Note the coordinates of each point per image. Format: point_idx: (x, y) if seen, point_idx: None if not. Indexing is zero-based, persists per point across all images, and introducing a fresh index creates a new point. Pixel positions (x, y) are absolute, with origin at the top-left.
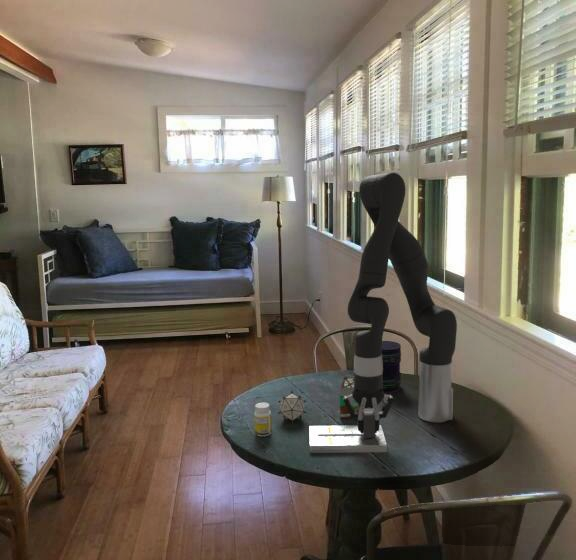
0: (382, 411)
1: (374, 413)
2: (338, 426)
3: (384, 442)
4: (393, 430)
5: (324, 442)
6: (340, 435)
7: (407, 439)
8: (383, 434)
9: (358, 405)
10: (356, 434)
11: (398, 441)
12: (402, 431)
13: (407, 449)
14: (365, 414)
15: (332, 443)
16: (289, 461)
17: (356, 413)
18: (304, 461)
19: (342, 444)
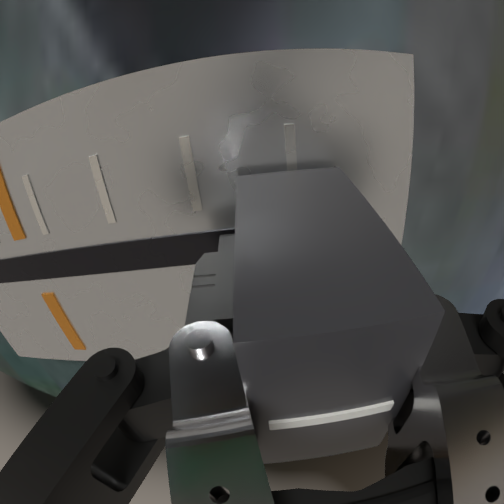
0: (499, 362)
1: (392, 435)
2: (35, 122)
3: None
4: (462, 44)
5: (50, 337)
6: (89, 268)
7: (499, 173)
8: (402, 222)
9: (167, 460)
10: (195, 245)
11: (458, 195)
12: (501, 70)
13: (462, 273)
14: (286, 445)
15: (87, 347)
16: (16, 369)
17: (170, 422)
18: (49, 373)
19: (137, 355)
